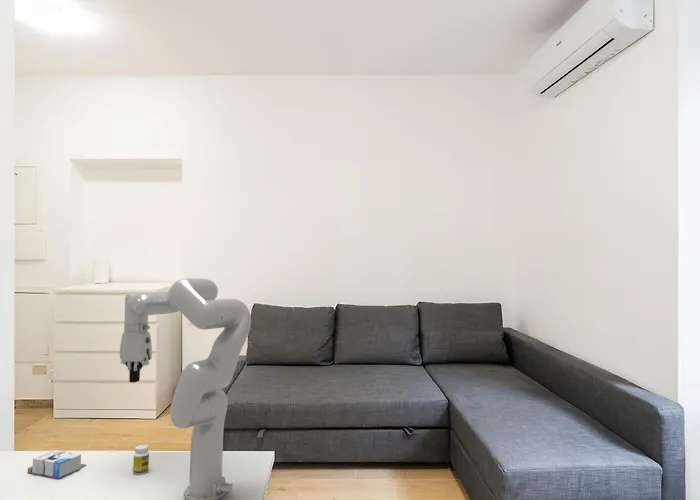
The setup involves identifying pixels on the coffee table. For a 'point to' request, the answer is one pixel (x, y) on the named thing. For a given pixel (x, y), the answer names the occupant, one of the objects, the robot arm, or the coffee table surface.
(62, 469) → the ink box
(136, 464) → the supplement bottle
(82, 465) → the mat
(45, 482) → the coffee table surface
